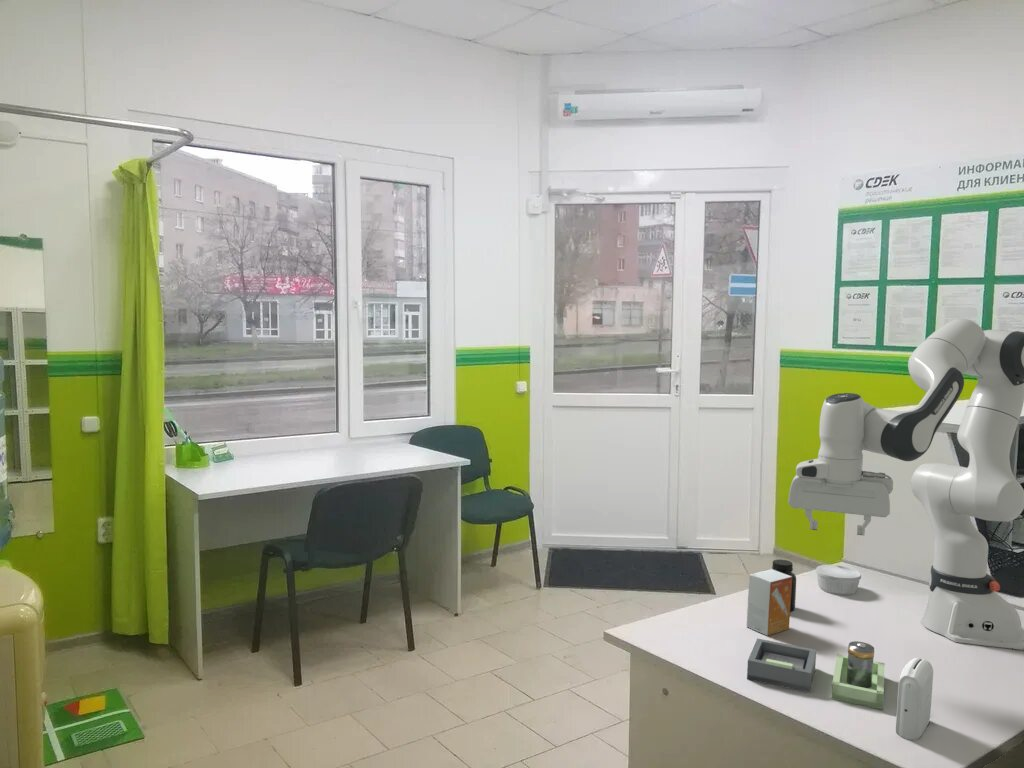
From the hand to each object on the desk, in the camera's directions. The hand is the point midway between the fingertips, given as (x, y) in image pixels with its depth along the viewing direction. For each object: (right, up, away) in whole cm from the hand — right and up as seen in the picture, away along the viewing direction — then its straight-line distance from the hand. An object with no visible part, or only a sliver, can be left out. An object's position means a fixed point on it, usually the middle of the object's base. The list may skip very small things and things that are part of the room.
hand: (836, 531), depth 169 cm
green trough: (-1, -29, -13) cm, 31 cm away
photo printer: (+2, -30, -28) cm, 41 cm away
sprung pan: (-14, -27, -7) cm, 31 cm away
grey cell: (-1, -28, -13) cm, 31 cm away
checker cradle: (-15, -28, -7) cm, 32 cm away
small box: (-10, -26, +16) cm, 32 cm away
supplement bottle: (-2, -25, +29) cm, 38 cm away
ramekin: (+18, -24, +43) cm, 53 cm away
